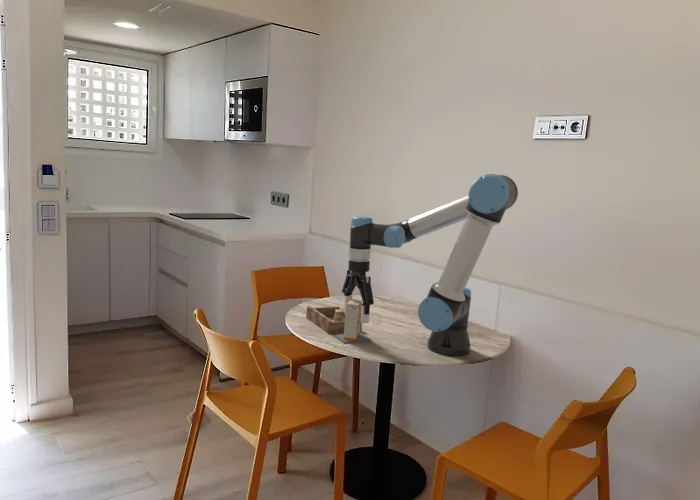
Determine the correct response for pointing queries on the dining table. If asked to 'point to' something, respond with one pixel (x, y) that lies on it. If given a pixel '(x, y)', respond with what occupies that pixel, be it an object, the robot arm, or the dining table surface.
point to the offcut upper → (339, 314)
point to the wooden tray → (325, 319)
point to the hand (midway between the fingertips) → (355, 318)
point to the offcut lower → (338, 319)
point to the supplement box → (352, 319)
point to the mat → (360, 338)
